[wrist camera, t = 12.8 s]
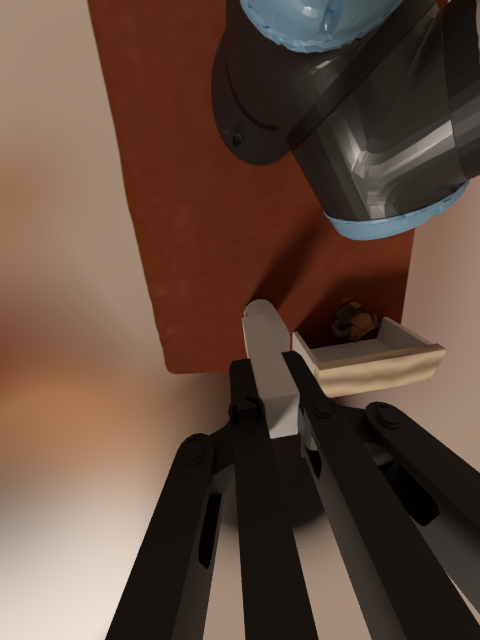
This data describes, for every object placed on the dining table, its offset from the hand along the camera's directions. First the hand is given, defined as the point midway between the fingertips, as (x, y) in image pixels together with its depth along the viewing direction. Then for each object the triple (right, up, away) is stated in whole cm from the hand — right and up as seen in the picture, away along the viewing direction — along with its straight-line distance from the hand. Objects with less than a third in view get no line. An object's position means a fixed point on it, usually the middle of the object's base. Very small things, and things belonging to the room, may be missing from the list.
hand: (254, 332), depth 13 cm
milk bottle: (+4, +3, +33) cm, 33 cm away
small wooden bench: (+27, -3, +39) cm, 47 cm away
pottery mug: (+27, +1, +37) cm, 46 cm away
